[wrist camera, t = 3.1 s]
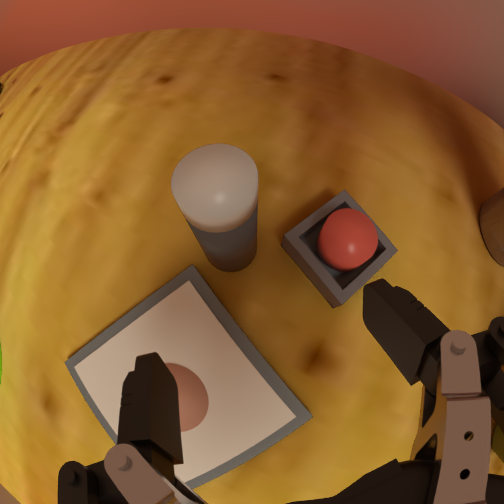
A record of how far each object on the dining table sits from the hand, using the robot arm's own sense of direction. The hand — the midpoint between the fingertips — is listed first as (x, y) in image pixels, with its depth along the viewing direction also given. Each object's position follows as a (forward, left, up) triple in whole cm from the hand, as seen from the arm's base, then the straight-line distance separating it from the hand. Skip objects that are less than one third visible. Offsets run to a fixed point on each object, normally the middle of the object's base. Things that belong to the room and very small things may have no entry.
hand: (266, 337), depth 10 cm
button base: (-10, -2, -12) cm, 16 cm away
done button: (-10, -2, -11) cm, 14 cm away
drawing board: (+9, 0, -12) cm, 15 cm away
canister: (-3, -8, -12) cm, 15 cm away
